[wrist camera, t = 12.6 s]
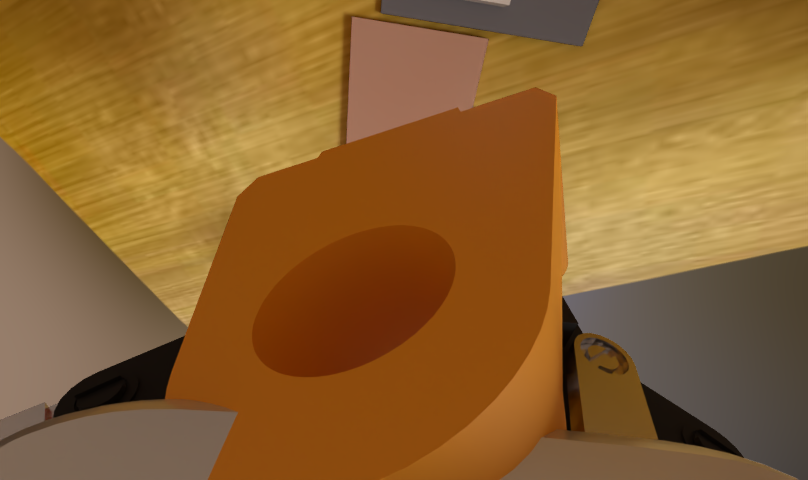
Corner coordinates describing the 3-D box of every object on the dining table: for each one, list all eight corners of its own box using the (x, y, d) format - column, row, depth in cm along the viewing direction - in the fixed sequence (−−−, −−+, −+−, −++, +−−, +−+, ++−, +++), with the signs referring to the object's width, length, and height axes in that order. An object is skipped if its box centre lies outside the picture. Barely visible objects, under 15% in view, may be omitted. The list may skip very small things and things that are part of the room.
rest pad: (487, 39, 24) (488, 38, 24) (448, 206, 32) (448, 209, 31) (353, 16, 24) (352, 16, 23) (345, 192, 31) (344, 195, 31)
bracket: (336, 295, 17) (232, 667, 7) (265, 170, 14) (-149, 558, 4) (545, 245, 15) (809, 647, 5) (527, 84, 12) (1254, 379, 2)
